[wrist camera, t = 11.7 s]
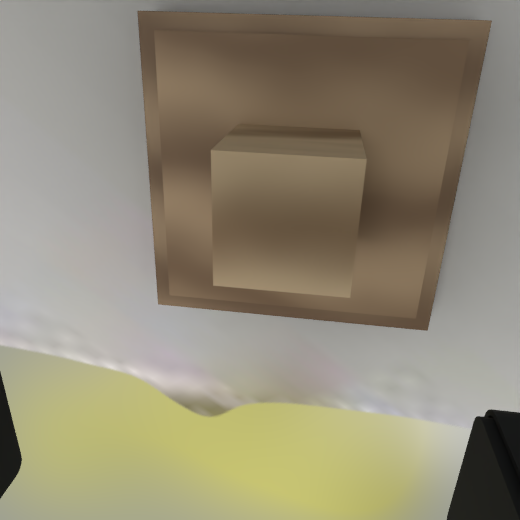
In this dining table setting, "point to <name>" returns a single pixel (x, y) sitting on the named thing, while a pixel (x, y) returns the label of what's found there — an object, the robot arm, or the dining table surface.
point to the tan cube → (287, 208)
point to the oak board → (312, 116)
